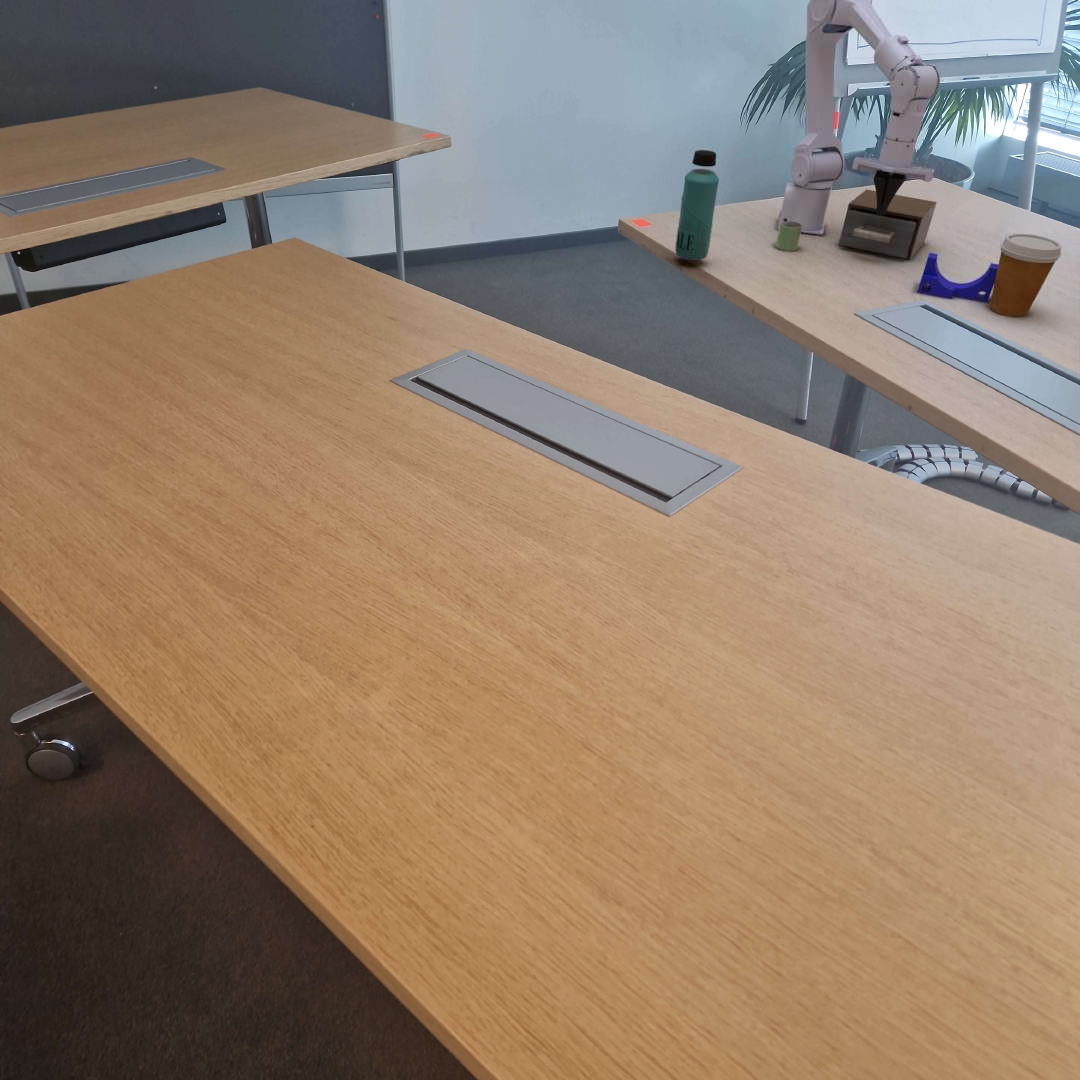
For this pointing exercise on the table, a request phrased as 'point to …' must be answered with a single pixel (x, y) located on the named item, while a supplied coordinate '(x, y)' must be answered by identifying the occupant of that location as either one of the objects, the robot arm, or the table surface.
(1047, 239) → the disposable coffee cup
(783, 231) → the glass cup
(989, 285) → the blue cradle bracket
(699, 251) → the beverage bottle
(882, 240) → the drawer
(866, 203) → the cabinet
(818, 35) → the robot arm
